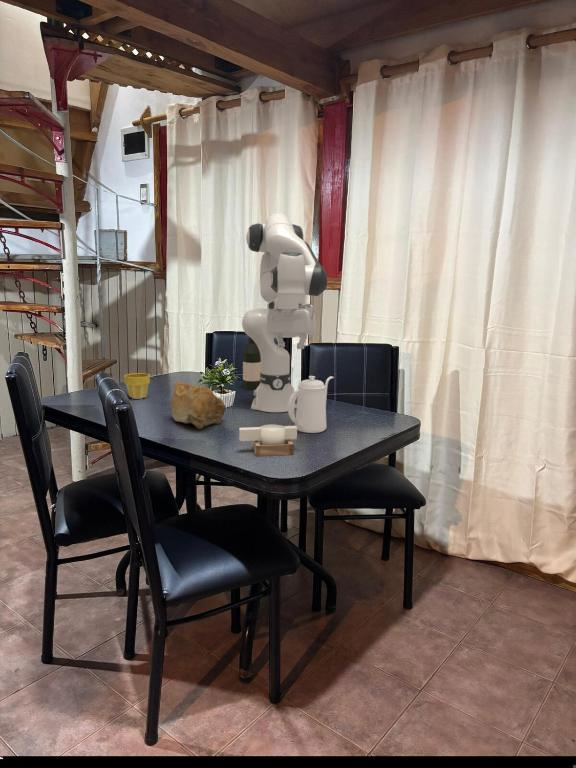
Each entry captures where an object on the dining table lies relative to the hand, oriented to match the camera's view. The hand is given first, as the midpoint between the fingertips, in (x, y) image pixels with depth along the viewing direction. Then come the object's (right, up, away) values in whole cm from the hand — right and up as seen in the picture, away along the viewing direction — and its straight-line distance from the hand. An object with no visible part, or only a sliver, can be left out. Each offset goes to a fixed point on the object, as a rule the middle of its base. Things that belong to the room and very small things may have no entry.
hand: (290, 348), depth 182 cm
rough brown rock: (-31, -26, +22) cm, 46 cm away
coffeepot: (+7, -27, +17) cm, 33 cm away
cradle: (-6, -31, -6) cm, 32 cm away
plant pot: (-63, -17, +58) cm, 88 cm away
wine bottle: (-17, -14, +80) cm, 83 cm away
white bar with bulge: (-7, -32, -6) cm, 33 cm away
